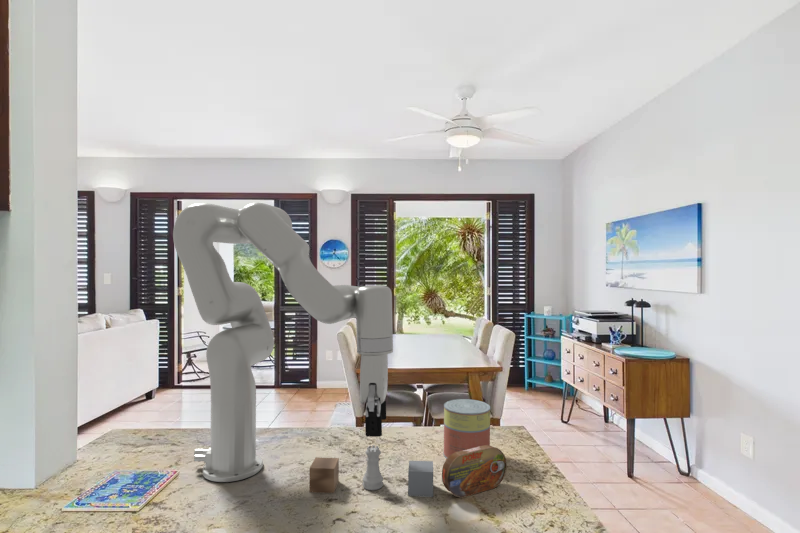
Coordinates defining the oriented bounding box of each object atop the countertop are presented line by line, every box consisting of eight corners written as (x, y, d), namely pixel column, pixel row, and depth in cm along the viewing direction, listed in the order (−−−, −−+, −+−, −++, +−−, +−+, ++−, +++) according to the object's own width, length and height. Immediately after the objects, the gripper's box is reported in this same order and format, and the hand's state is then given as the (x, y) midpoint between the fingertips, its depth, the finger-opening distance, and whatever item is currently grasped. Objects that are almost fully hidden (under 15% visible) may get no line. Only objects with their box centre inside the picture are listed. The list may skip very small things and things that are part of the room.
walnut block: (309, 492, 91) (309, 467, 91) (315, 480, 96) (315, 457, 96) (333, 493, 90) (334, 468, 90) (338, 481, 95) (338, 458, 95)
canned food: (500, 457, 108) (500, 407, 108) (465, 469, 101) (465, 416, 101) (467, 442, 117) (468, 396, 117) (434, 452, 111) (434, 403, 111)
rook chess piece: (380, 492, 91) (380, 453, 91) (359, 490, 92) (359, 451, 92) (385, 482, 95) (386, 444, 95) (365, 479, 96) (365, 442, 96)
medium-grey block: (408, 496, 89) (408, 471, 89) (408, 484, 94) (409, 460, 94) (433, 497, 89) (433, 472, 89) (432, 485, 94) (432, 461, 94)
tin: (447, 502, 87) (448, 459, 87) (439, 494, 90) (439, 453, 90) (507, 485, 94) (507, 445, 94) (497, 478, 97) (498, 440, 97)
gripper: (362, 338, 102) (364, 413, 102) (350, 353, 85) (351, 443, 85) (395, 338, 102) (397, 413, 102) (389, 352, 84) (391, 443, 84)
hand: (376, 427), depth 93 cm, fingers open, 9 cm apart
